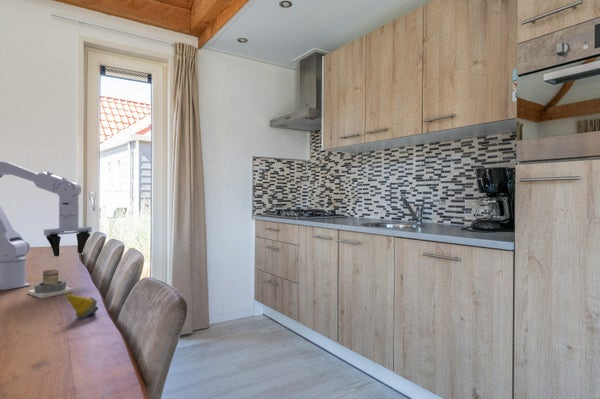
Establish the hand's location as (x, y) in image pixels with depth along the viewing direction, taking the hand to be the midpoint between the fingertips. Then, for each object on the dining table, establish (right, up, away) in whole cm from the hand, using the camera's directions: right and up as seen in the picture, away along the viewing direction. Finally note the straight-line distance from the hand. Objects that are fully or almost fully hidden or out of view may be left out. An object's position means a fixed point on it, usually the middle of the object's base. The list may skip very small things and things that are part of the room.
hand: (68, 254), depth 125 cm
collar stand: (+1, -11, -11) cm, 15 cm away
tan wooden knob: (+1, -10, -11) cm, 14 cm away
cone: (+26, -11, -34) cm, 44 cm away
